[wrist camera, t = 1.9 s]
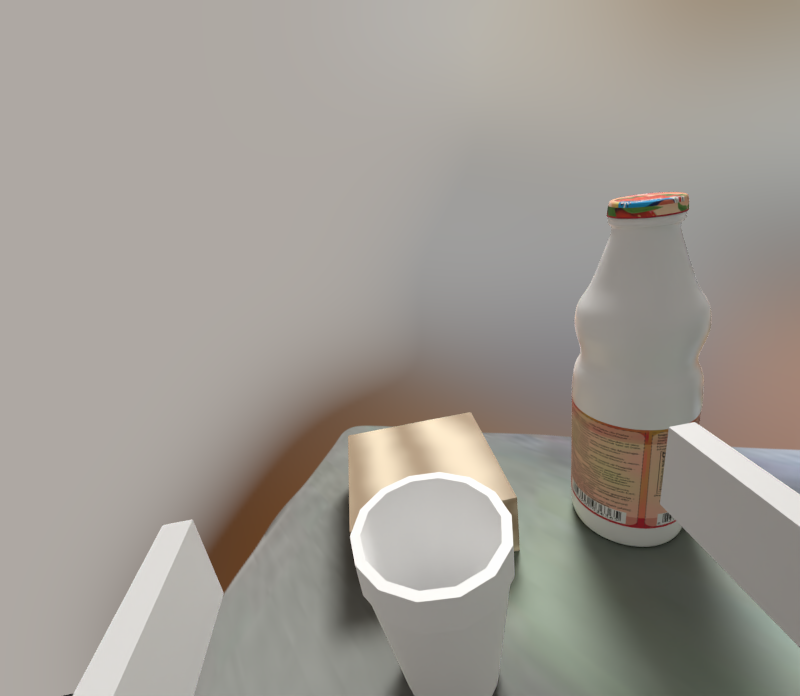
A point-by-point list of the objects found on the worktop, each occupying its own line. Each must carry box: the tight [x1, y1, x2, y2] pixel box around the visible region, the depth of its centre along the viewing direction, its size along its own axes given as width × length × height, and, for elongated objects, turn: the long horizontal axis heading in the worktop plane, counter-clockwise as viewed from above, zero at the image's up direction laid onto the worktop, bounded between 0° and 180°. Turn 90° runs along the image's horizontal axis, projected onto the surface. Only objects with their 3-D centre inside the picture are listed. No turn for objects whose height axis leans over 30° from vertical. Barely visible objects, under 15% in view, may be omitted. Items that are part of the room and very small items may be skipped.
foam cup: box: [350, 472, 515, 696], centre depth 27 cm, size 10×9×13 cm
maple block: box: [348, 412, 520, 552], centre depth 43 cm, size 14×14×6 cm
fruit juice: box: [571, 192, 711, 547], centre depth 35 cm, size 9×9×28 cm
